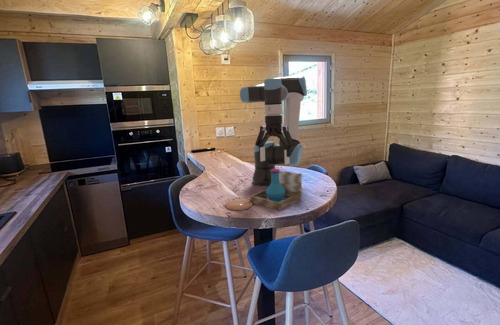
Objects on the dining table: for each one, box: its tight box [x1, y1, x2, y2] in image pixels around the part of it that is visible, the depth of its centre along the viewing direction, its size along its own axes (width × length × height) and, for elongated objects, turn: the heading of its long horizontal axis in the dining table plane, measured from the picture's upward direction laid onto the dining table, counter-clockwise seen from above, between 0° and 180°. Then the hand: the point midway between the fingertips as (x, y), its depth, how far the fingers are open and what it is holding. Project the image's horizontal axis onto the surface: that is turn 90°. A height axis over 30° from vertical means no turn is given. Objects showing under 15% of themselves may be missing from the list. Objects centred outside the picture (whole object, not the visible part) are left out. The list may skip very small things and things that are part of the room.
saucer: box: [225, 198, 253, 212], centre depth 123 cm, size 12×12×1 cm
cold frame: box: [249, 170, 303, 211], centre depth 126 cm, size 17×18×12 cm
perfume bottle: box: [266, 168, 285, 202], centre depth 125 cm, size 9×9×15 cm
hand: (274, 162), depth 123 cm, fingers open, 13 cm apart
